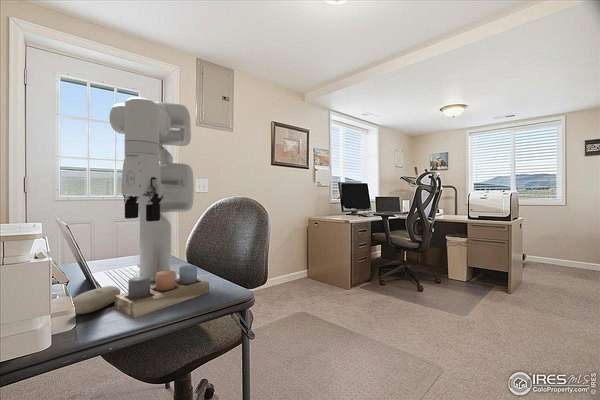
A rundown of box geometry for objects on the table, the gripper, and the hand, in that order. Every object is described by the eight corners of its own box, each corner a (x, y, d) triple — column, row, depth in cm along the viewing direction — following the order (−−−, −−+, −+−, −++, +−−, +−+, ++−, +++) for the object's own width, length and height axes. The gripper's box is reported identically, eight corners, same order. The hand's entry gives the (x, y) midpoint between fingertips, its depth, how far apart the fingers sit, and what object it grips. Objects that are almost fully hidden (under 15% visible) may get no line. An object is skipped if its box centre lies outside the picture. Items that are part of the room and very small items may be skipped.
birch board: (114, 307, 72) (114, 295, 71) (188, 285, 89) (188, 276, 89) (135, 317, 66) (135, 305, 66) (209, 292, 84) (209, 282, 84)
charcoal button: (124, 295, 71) (124, 279, 71) (143, 290, 75) (144, 275, 75) (134, 299, 68) (134, 283, 68) (154, 294, 72) (154, 278, 72)
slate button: (175, 281, 83) (175, 267, 83) (190, 277, 87) (190, 264, 87) (186, 284, 80) (186, 270, 80) (200, 280, 84) (200, 266, 84)
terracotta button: (152, 287, 77) (152, 273, 77) (168, 283, 81) (168, 269, 81) (162, 291, 74) (162, 276, 74) (179, 286, 78) (179, 272, 78)
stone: (129, 290, 77) (93, 292, 65) (117, 313, 75) (78, 319, 64) (112, 281, 78) (74, 282, 66) (100, 304, 77) (59, 308, 65)
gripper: (108, 150, 72) (108, 218, 73) (146, 146, 63) (146, 223, 63) (138, 154, 78) (138, 216, 79) (177, 150, 69) (176, 221, 70)
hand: (142, 219), depth 71 cm, fingers open, 9 cm apart
